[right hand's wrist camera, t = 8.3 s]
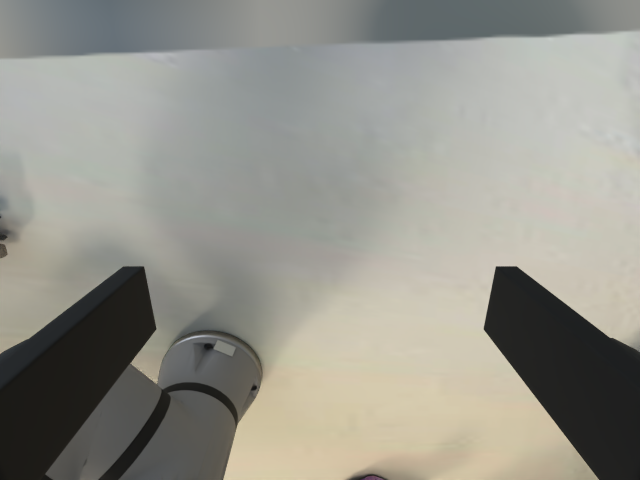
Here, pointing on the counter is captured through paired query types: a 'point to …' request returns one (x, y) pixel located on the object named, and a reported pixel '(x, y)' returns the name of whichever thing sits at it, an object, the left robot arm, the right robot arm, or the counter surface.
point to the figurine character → (2, 246)
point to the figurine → (372, 478)
